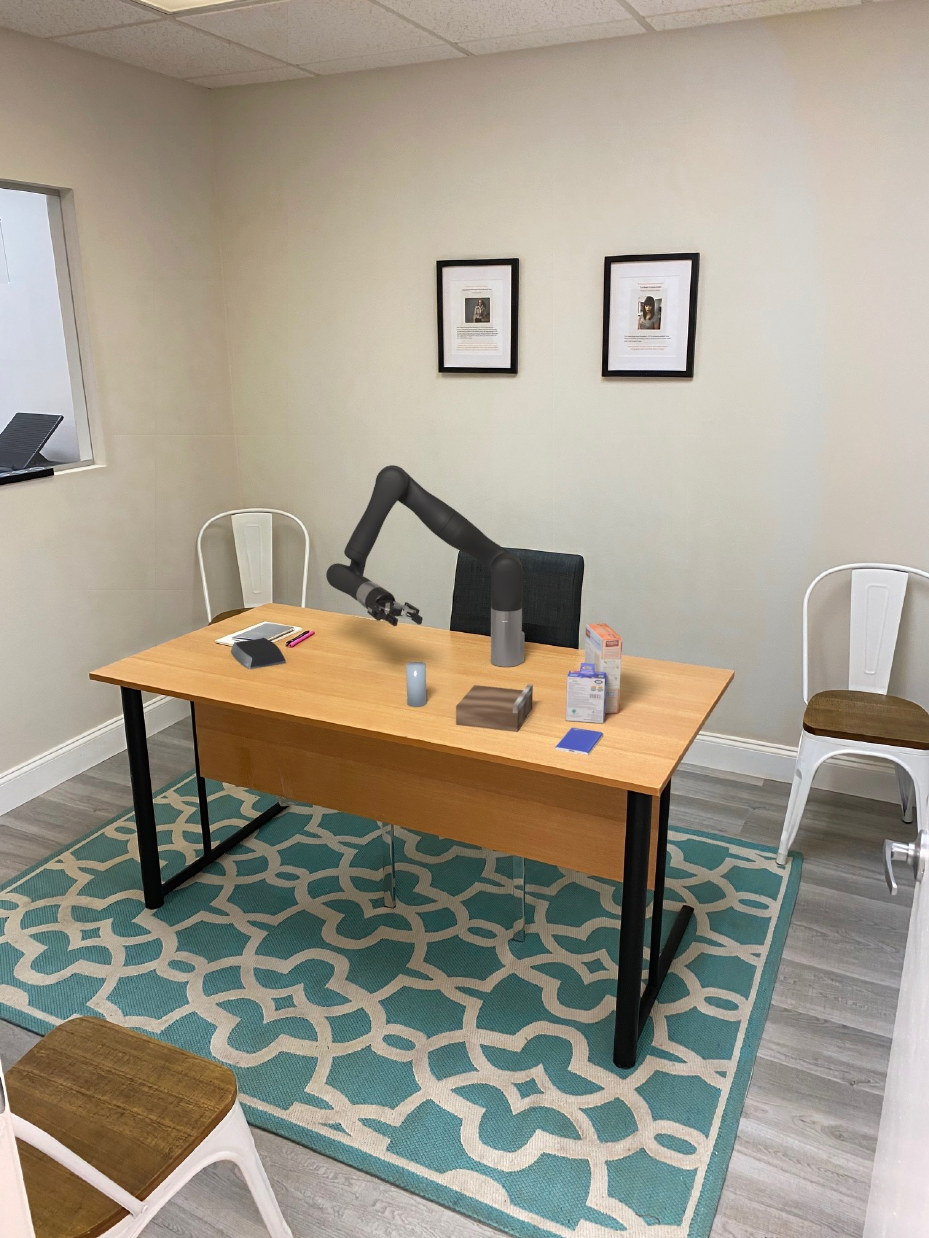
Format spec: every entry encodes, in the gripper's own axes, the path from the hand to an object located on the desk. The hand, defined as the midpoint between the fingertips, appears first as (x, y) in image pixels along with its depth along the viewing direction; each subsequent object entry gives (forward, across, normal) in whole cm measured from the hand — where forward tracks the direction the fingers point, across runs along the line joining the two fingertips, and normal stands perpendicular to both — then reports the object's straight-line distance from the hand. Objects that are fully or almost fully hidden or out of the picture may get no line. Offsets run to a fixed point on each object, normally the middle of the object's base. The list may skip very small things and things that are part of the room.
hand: (409, 622), depth 255 cm
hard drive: (+58, +12, +8) cm, 59 cm away
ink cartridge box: (+48, +24, +7) cm, 54 cm away
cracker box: (+44, +34, +6) cm, 56 cm away
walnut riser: (+32, +8, +13) cm, 36 cm away
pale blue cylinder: (+12, -2, +18) cm, 22 cm away
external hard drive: (-49, -14, +34) cm, 61 cm away
